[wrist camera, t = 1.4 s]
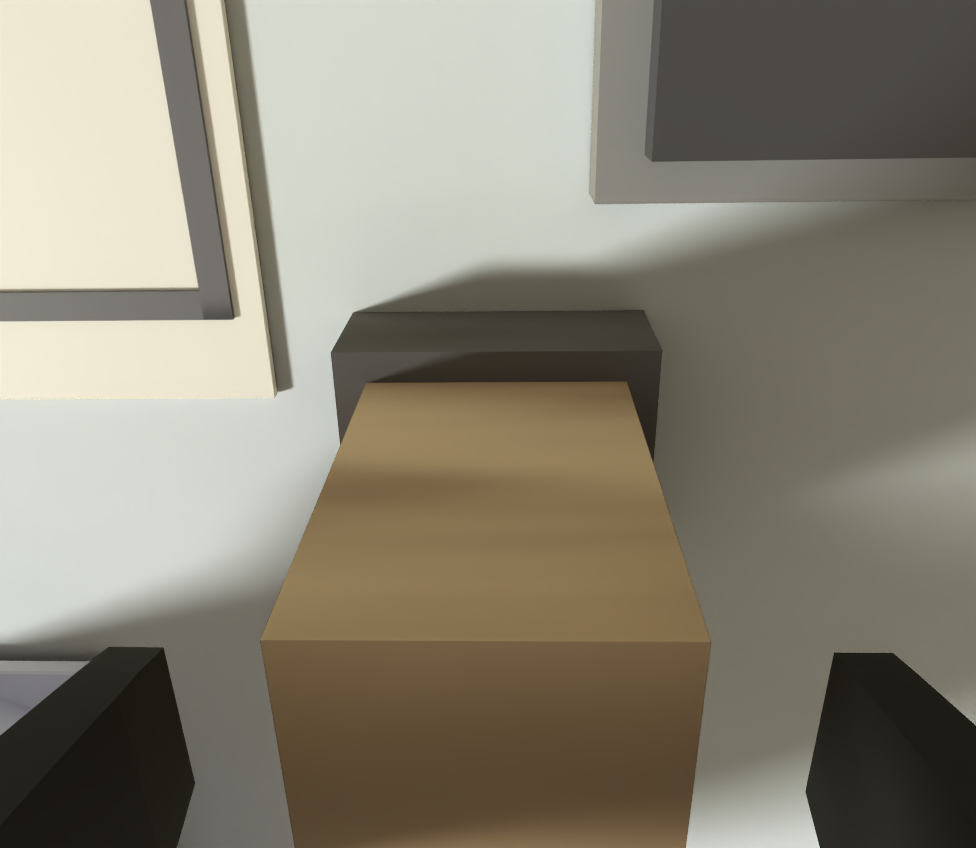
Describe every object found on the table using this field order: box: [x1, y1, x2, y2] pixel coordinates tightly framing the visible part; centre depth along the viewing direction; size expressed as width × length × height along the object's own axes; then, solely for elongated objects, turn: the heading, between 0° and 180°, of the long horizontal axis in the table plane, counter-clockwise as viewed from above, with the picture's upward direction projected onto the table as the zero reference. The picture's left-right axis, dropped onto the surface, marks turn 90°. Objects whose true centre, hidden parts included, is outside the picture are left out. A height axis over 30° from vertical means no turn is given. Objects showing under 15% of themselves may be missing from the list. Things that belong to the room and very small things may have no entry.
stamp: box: [260, 310, 711, 848], centre depth 12 cm, size 5×5×8 cm
